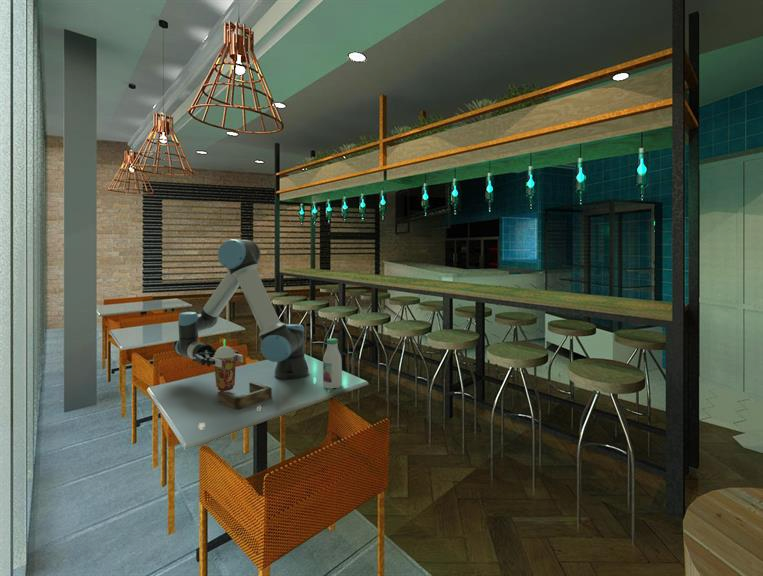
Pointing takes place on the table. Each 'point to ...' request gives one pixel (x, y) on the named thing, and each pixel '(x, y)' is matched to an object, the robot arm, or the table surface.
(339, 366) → the milk bottle
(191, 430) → the table surface
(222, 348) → the smoothie
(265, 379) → the table surface
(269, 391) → the holder
